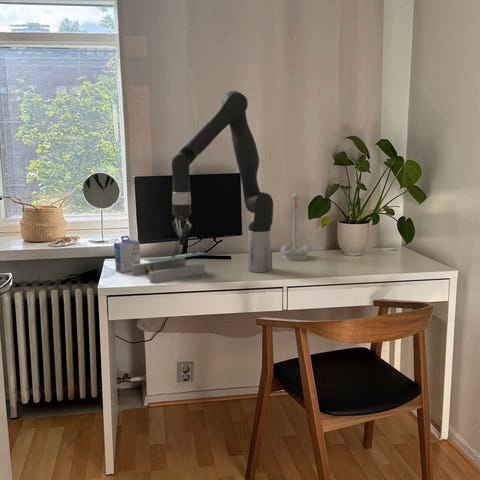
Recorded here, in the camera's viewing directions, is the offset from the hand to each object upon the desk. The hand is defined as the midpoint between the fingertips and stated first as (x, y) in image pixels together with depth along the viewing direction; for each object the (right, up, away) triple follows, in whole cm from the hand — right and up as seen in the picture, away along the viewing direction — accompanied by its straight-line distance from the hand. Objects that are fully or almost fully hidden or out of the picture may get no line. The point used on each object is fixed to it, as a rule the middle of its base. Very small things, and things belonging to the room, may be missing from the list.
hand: (182, 244), depth 254 cm
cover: (-3, -6, +5) cm, 8 cm away
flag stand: (+49, -7, +34) cm, 60 cm away
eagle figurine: (-12, -14, -3) cm, 18 cm away
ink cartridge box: (-24, -11, +12) cm, 29 cm away
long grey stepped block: (-6, -12, +4) cm, 14 cm away
